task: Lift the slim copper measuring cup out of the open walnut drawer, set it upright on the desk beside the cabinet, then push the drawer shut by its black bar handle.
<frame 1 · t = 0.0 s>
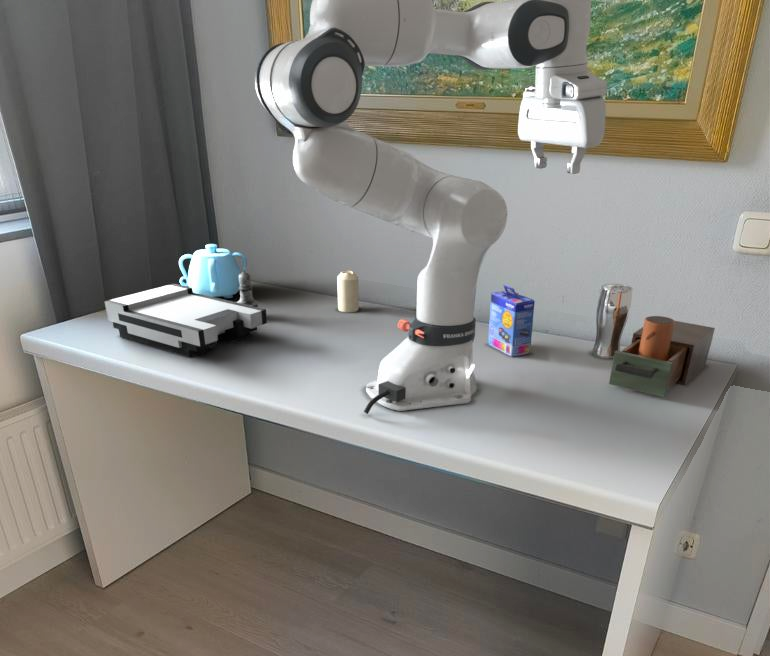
hand: (556, 170, 133), 39 cm above the table, tool pointing down, fingers open, 8 cm apart
cabinet: (666, 368, 154), on the table
candle: (348, 310, 191), on the table
measuring cup: (648, 376, 145), point 2 cm above the table, touching drawer
game console: (189, 337, 171), on the table
drawer: (647, 367, 142), point 4 cm above the table, slide at 10.0 cm, touching measuring cup
salt shaker: (248, 317, 186), on the table
ink cartridge box: (507, 350, 164), on the table
decorative pot: (217, 295, 204), on the table
beer glass: (605, 355, 162), on the table
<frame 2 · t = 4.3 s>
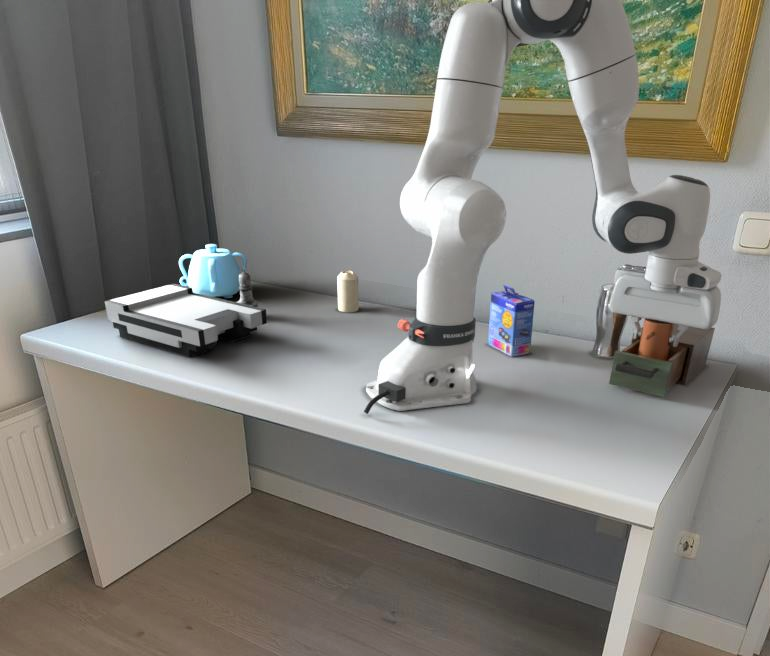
hand: (655, 342, 141), 9 cm above the table, tool pointing down, fingers closed on measuring cup, 5 cm apart
measuring cup: (648, 376, 145), point 2 cm above the table, touching drawer, gripper
everything else where it was.
when the fingers open (7 cm above the table, at t = 10.9 s): measuring cup stays where it is, on the table.
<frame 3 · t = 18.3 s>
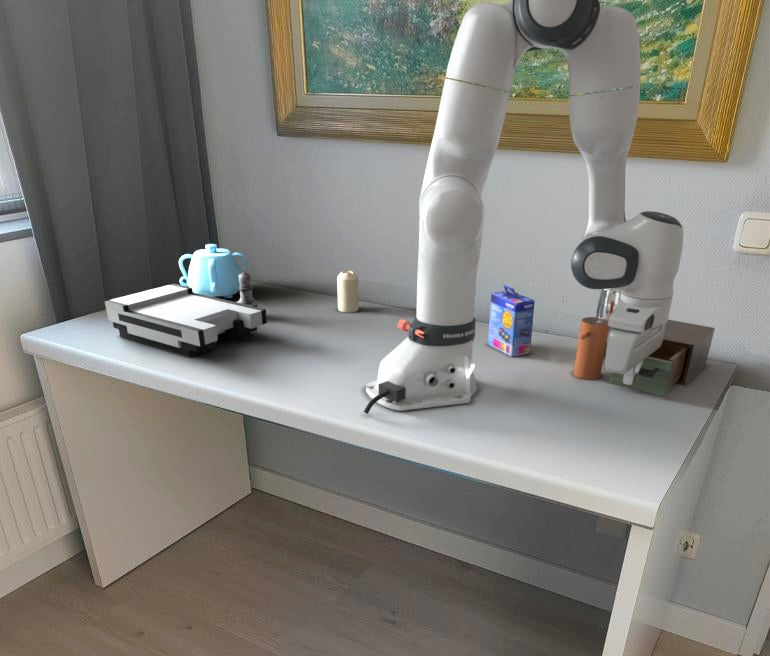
hand: (629, 382, 136), 4 cm above the table, tool pointing down, fingers closed
measuring cup: (586, 374, 151), on the table
drawer: (648, 367, 143), point 4 cm above the table, slide at 9.6 cm, touching gripper
everything else where it was.
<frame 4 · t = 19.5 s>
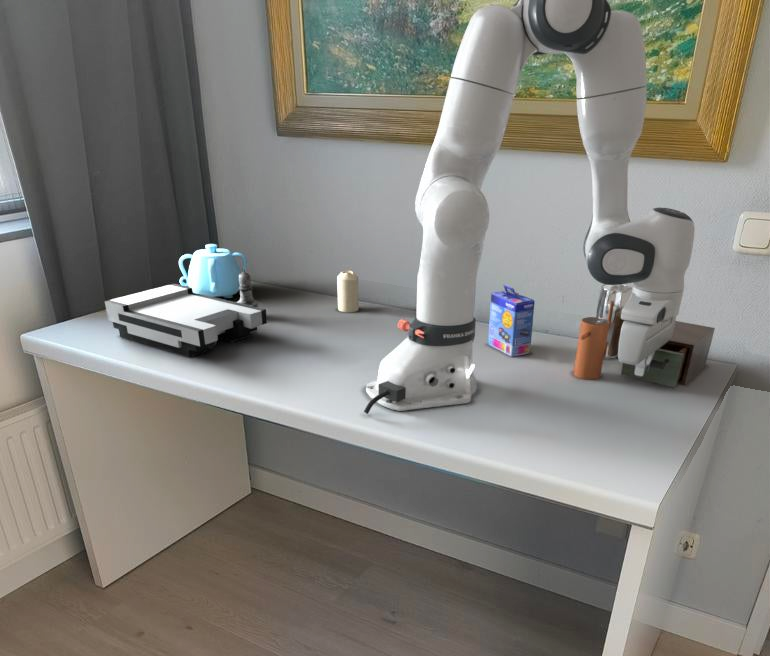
hand: (641, 373, 140), 4 cm above the table, tool pointing down, fingers closed
drawer: (658, 359, 147), point 4 cm above the table, slide at 3.6 cm, touching gripper
everything else where it was.
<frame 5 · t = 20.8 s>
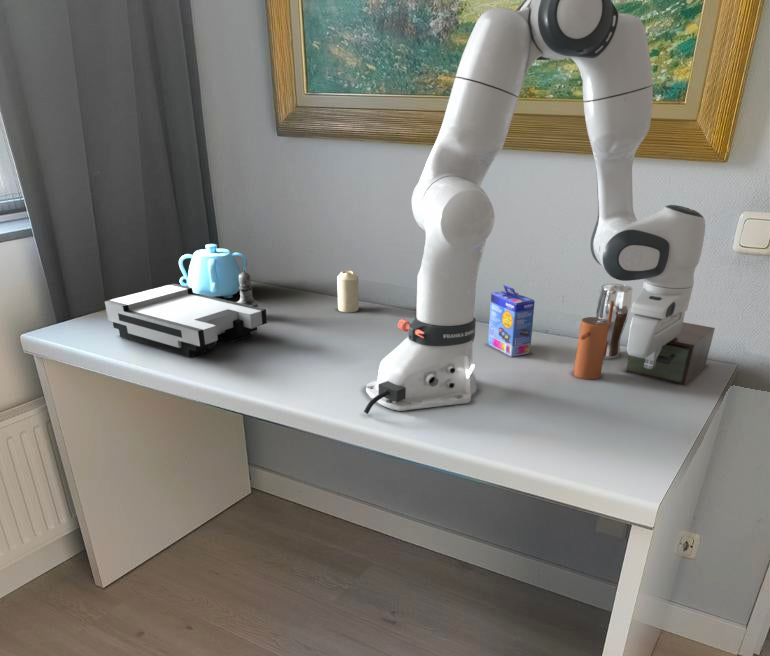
hand: (649, 367, 143), 4 cm above the table, tool pointing down, fingers closed, pressing on drawer
drawer: (664, 354, 149), point 4 cm above the table, slide at 0.0 cm, touching cabinet, gripper
everything else where it was.
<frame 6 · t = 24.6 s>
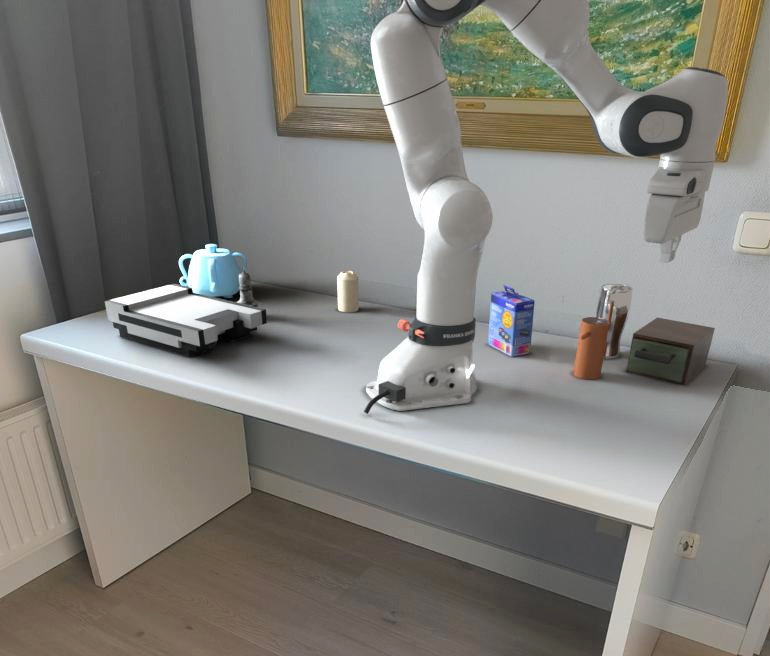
hand: (666, 261, 130), 25 cm above the table, tool pointing down, fingers closed
drawer: (664, 354, 149), point 4 cm above the table, slide at 0.0 cm
everything else where it was.
at the end: measuring cup inside the target area (0.2 cm from its centre), on the table; measuring cup tilted 0°; drawer slide at 0.0 cm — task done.
